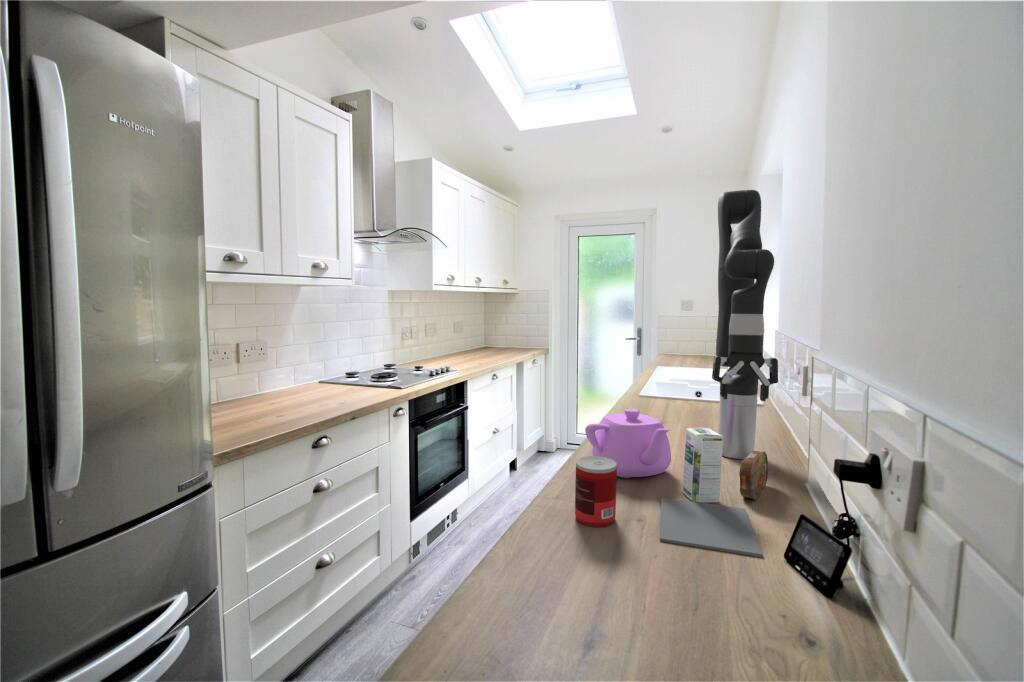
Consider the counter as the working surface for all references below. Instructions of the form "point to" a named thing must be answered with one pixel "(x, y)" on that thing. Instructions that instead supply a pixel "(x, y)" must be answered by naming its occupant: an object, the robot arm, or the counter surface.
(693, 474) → the syrup box
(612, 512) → the canned food
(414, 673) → the counter surface
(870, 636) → the counter surface
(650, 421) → the teapot
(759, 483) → the tin
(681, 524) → the mat
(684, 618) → the counter surface
